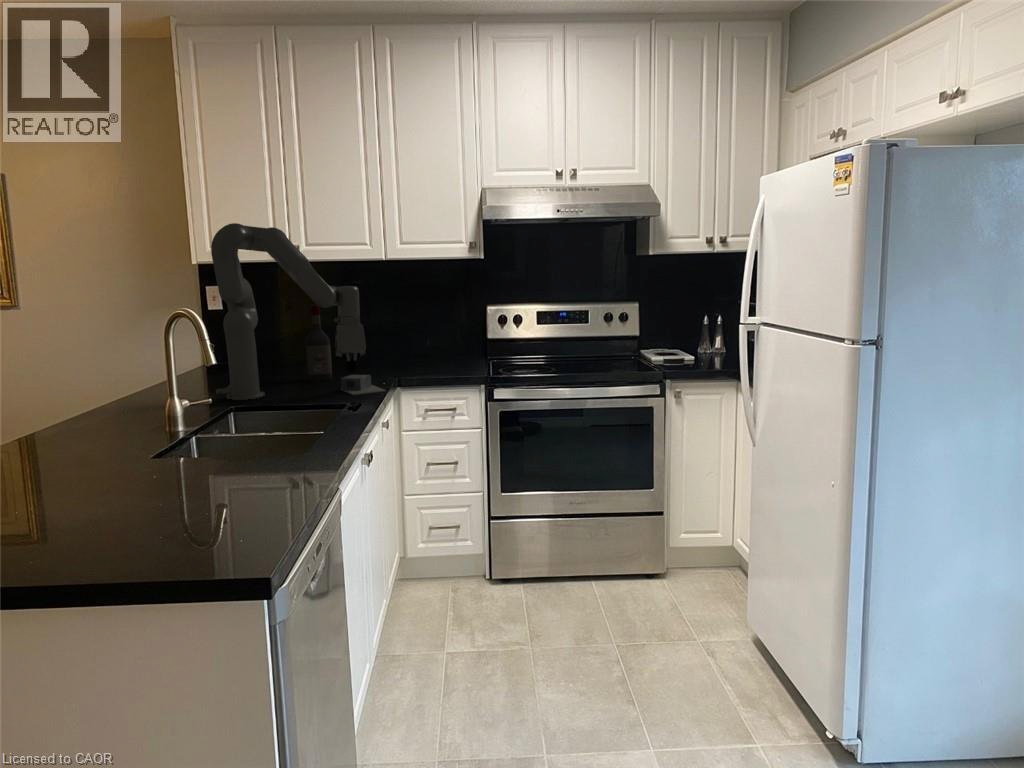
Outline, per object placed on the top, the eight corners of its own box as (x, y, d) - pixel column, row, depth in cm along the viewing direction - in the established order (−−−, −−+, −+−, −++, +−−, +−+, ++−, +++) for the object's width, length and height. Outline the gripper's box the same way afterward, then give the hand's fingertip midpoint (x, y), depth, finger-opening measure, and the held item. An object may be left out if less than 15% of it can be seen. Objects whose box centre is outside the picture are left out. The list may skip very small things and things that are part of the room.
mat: (353, 395, 245) (352, 394, 245) (340, 389, 256) (340, 388, 256) (386, 391, 251) (386, 390, 251) (372, 386, 263) (372, 385, 263)
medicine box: (360, 390, 252) (371, 386, 260) (360, 378, 251) (371, 374, 259) (341, 389, 254) (352, 385, 262) (340, 377, 253) (352, 374, 261)
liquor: (333, 380, 279) (328, 305, 274) (309, 382, 275) (304, 306, 270) (330, 377, 287) (325, 304, 282) (307, 379, 284) (302, 305, 279)
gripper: (331, 322, 241) (334, 374, 244) (372, 320, 248) (374, 371, 251) (325, 321, 247) (327, 371, 250) (365, 319, 255) (367, 368, 258)
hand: (351, 371), depth 251 cm, fingers closed
